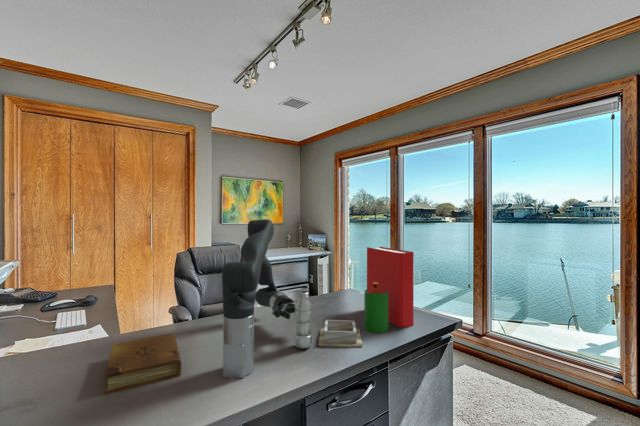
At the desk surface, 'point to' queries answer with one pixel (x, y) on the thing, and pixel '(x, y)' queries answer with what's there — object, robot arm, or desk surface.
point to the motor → (376, 310)
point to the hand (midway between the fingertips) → (299, 314)
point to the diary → (142, 362)
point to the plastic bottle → (303, 321)
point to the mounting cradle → (340, 334)
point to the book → (393, 281)
